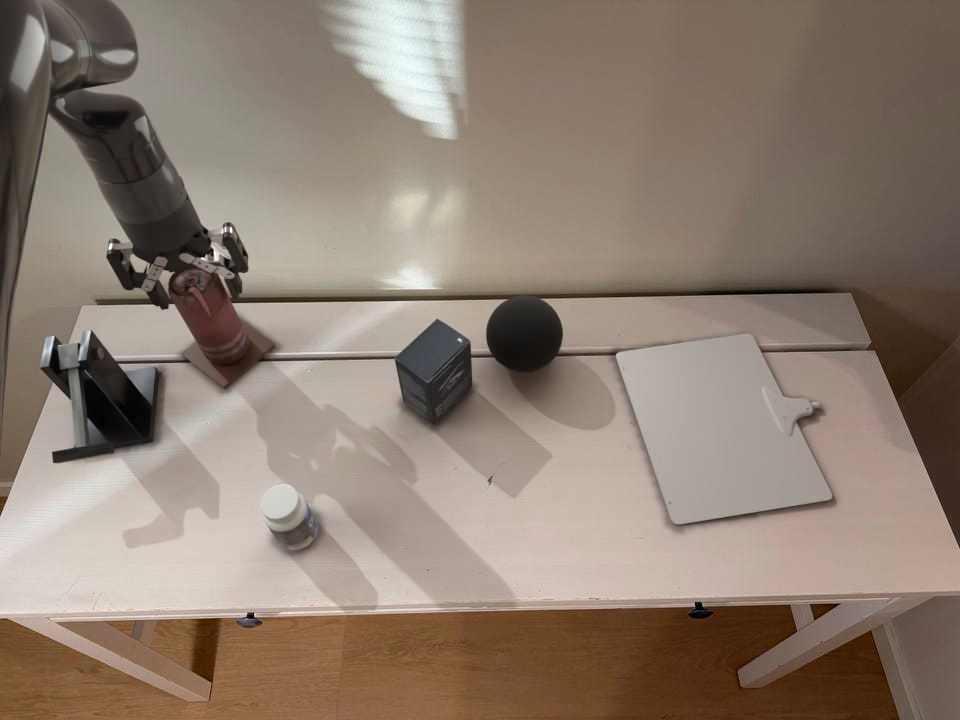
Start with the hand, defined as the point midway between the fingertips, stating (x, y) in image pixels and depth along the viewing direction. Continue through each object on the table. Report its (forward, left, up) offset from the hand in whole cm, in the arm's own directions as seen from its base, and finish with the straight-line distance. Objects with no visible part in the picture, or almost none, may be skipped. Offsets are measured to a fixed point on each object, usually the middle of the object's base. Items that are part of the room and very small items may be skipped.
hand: (201, 298), depth 82 cm
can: (0, 0, -11) cm, 11 cm away
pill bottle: (-12, -26, -11) cm, 31 cm away
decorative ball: (+24, -32, -11) cm, 42 cm away
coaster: (0, 0, -11) cm, 11 cm away
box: (+12, -27, -11) cm, 32 cm away
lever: (-18, 0, -2) cm, 18 cm away
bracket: (-15, +4, -11) cm, 19 cm away
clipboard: (+32, -59, -11) cm, 68 cm away
